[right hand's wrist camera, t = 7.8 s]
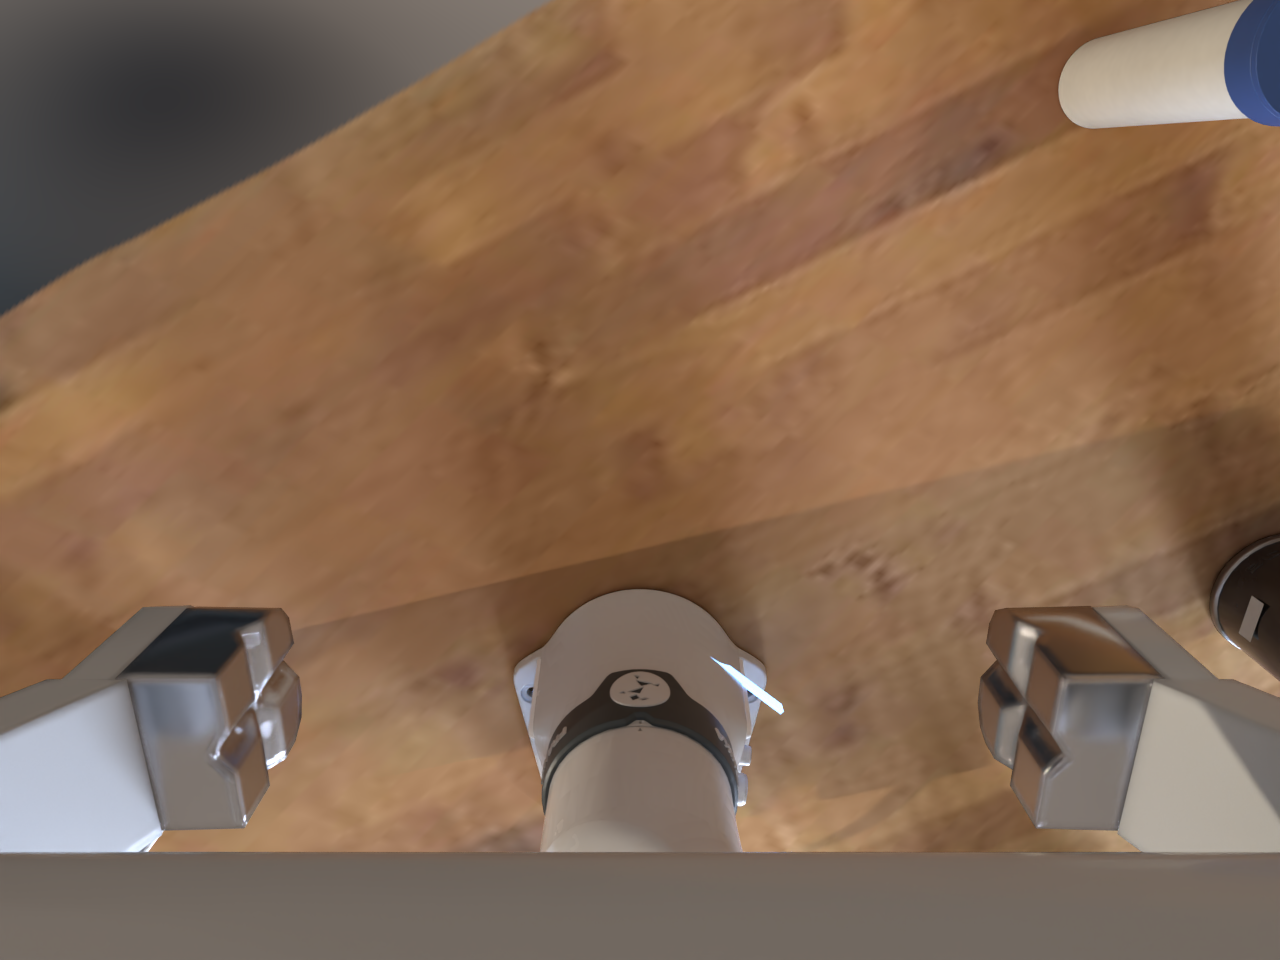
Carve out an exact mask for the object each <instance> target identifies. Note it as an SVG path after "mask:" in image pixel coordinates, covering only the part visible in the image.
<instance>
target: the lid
mask: <svg viewBox="0 0 1280 960" xmlns="http://www.w3.org/2000/svg"><path fill="white" fill-rule="evenodd" d="M1224 78H1225V84H1226V87H1227V91H1228V93H1229V96H1230V98H1231V100H1232V101H1233V103H1234V104H1235V106H1236V107H1237V108H1238V109H1239V110H1240V111H1241V113H1243V114H1244V115H1245V116H1246V117H1248V118H1249V119H1251V120H1253V121H1255V122H1258V123H1260V124H1263V125H1269V126H1280V0H1253V1H1252V2H1251V3H1250V4H1249V5H1248V7H1247V8H1246V9H1245V10H1244V12H1243V13H1242V14H1241V16H1240V18H1239V19H1238V21H1237V22H1236V24H1235V26H1234V28H1233V30H1232V32H1231V35H1230V38H1229V41H1228V43H1227V47H1226V52H1225V58H1224Z"/></svg>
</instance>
